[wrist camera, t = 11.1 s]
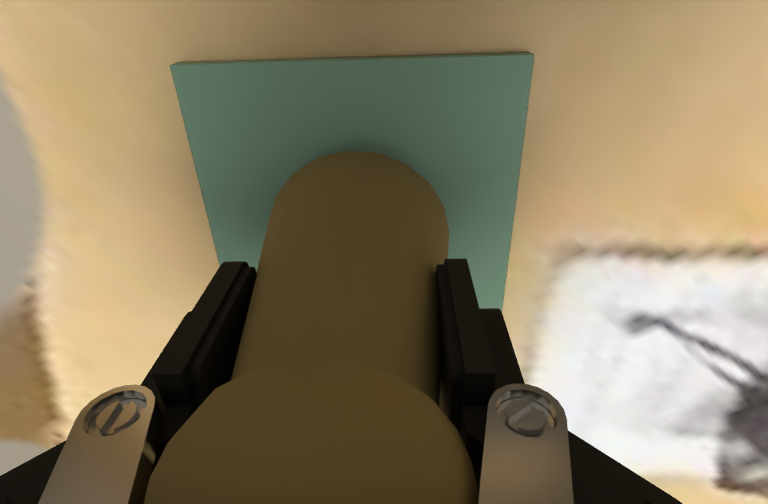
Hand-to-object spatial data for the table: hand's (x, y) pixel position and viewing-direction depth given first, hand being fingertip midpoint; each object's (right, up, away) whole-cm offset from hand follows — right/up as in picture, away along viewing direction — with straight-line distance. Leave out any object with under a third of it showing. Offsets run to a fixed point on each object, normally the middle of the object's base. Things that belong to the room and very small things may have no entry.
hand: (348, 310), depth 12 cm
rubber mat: (0, +3, +5) cm, 6 cm away
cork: (0, +2, +4) cm, 4 cm away
